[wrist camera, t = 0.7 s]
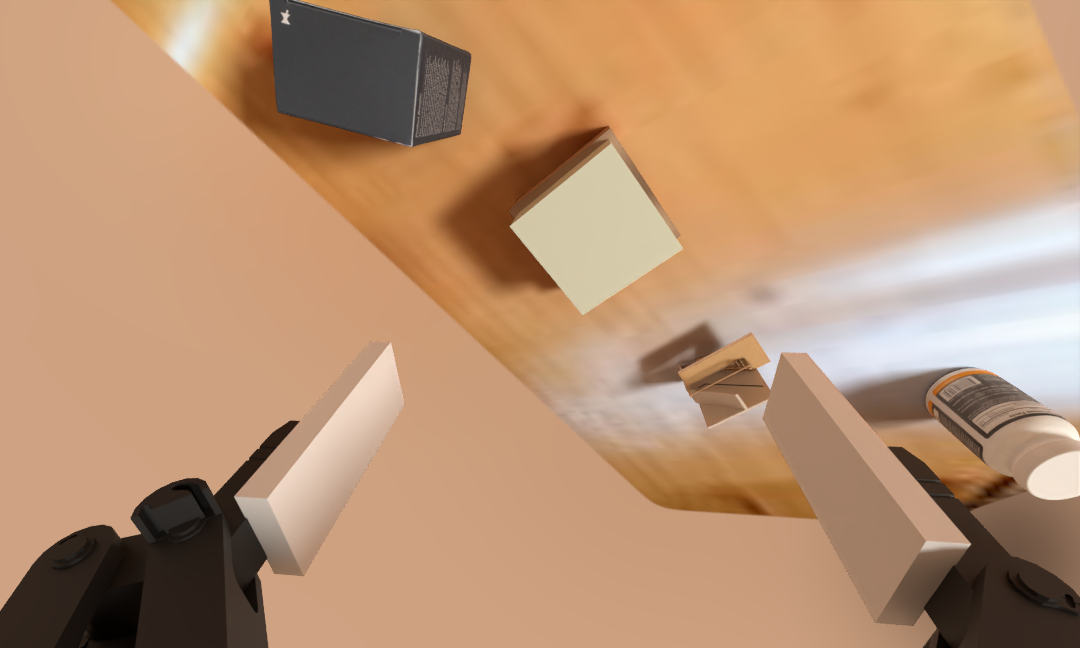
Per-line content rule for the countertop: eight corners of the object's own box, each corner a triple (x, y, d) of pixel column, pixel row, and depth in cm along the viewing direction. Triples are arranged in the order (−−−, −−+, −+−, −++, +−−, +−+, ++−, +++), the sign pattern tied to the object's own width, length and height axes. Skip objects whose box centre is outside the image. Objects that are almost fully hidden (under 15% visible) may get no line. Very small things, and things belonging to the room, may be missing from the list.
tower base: (516, 200, 35) (508, 211, 31) (608, 125, 32) (610, 128, 28) (580, 283, 38) (580, 301, 34) (671, 222, 34) (680, 235, 31)
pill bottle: (986, 414, 39) (1102, 504, 30) (915, 419, 40) (1007, 507, 31) (1004, 361, 36) (1136, 443, 28) (928, 368, 37) (1032, 448, 29)
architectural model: (669, 353, 40) (684, 401, 33) (738, 314, 38) (770, 358, 31) (687, 378, 41) (706, 430, 34) (756, 342, 39) (791, 390, 32)
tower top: (518, 212, 31) (509, 226, 28) (608, 139, 28) (611, 143, 25) (583, 293, 34) (582, 315, 30) (672, 232, 31) (683, 248, 27)
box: (363, 110, 33) (272, 112, 23) (366, 23, 30) (265, -14, 21) (462, 137, 33) (411, 149, 23) (474, 53, 30) (422, 28, 21)
